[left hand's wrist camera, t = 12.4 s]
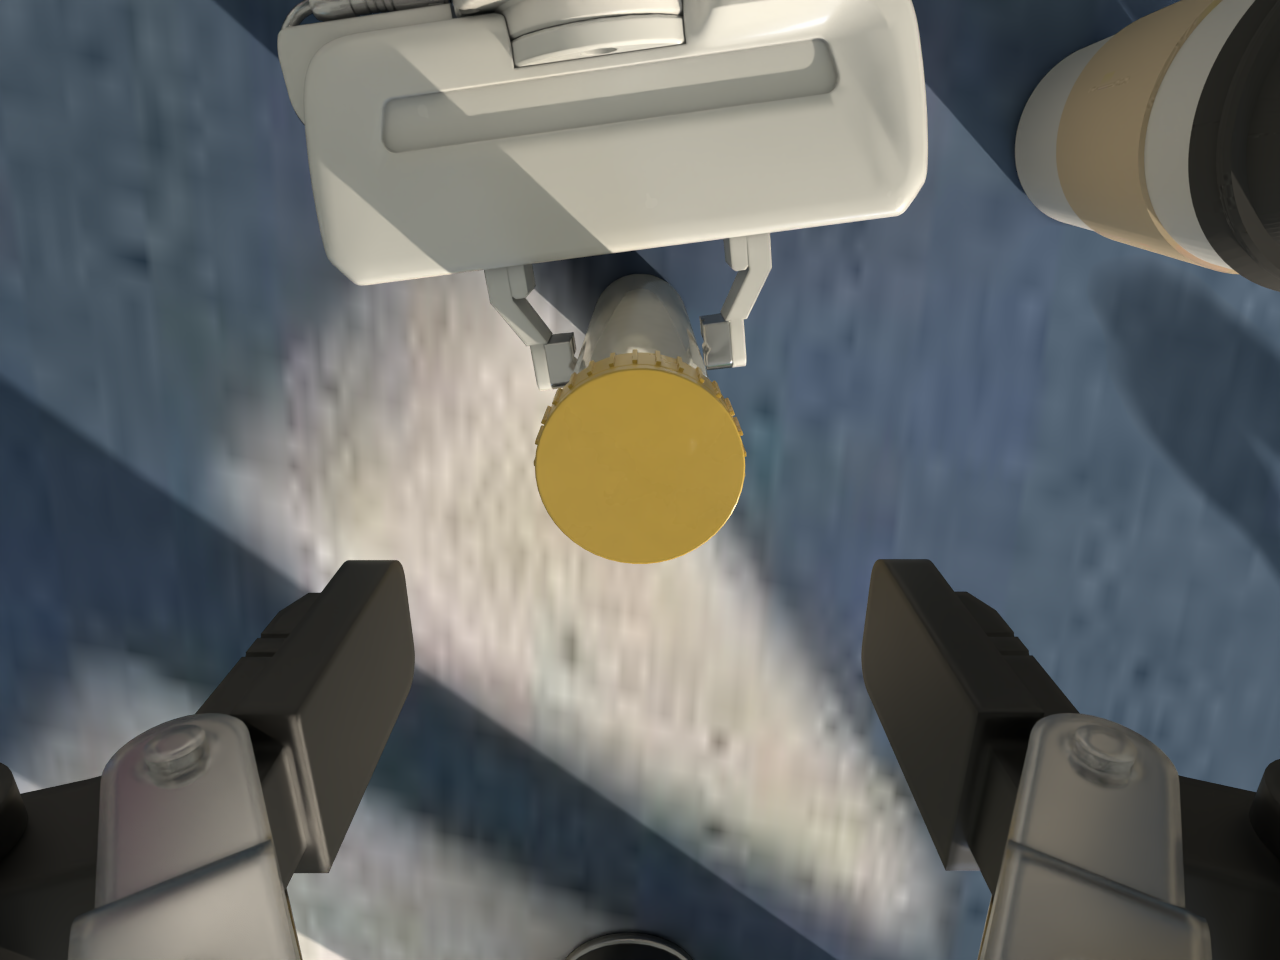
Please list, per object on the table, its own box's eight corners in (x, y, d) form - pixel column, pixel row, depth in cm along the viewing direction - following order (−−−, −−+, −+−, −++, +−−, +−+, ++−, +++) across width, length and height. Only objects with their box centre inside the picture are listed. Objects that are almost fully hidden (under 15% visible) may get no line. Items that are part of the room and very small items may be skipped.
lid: (776, 473, 19) (788, 499, 17) (614, 569, 20) (612, 602, 18) (669, 307, 17) (672, 320, 16) (499, 421, 18) (487, 443, 17)
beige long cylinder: (704, 334, 34) (765, 487, 18) (627, 385, 35) (616, 576, 19) (653, 254, 33) (666, 337, 16) (574, 308, 34) (511, 440, 17)
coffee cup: (1186, -40, 29) (1695, -236, 15) (1233, 188, 32) (1693, 200, 18) (957, 83, 30) (1225, 8, 16) (1022, 289, 33) (1295, 371, 20)
